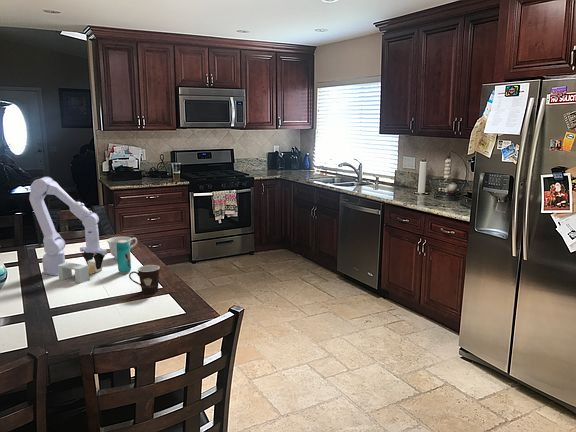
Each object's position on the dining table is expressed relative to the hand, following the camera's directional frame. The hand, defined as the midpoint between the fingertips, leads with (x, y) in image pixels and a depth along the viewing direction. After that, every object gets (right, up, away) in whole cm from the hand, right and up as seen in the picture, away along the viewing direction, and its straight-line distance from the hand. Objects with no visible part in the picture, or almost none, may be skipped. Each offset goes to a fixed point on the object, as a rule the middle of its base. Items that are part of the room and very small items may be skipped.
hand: (94, 267), depth 219 cm
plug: (-1, -2, -3) cm, 4 cm away
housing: (-5, -4, -11) cm, 12 cm away
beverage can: (+14, -2, 0) cm, 14 cm away
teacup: (+6, +3, +22) cm, 23 cm away
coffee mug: (+31, -7, -23) cm, 40 cm away
